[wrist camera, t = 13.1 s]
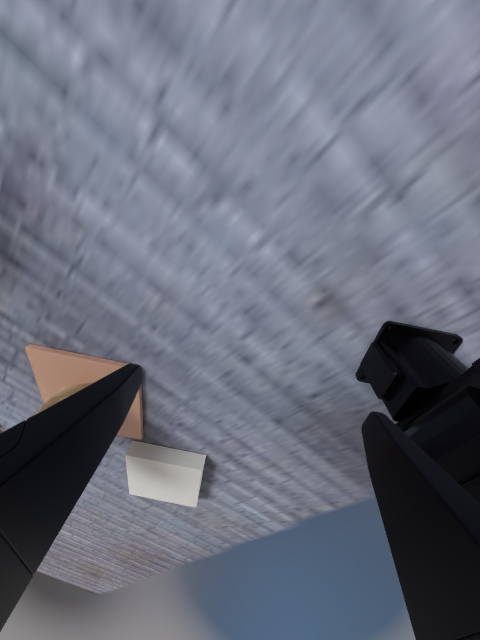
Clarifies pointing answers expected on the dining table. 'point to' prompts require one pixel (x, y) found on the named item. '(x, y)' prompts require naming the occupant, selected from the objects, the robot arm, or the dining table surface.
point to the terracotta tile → (79, 379)
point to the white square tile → (164, 473)
